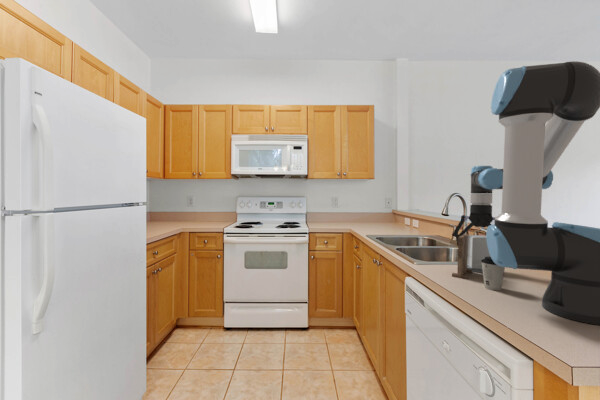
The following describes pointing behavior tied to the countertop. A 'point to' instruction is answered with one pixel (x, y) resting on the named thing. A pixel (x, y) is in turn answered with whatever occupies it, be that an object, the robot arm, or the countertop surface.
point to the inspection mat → (475, 269)
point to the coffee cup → (492, 274)
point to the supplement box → (477, 251)
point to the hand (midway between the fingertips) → (479, 256)
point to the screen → (462, 257)
